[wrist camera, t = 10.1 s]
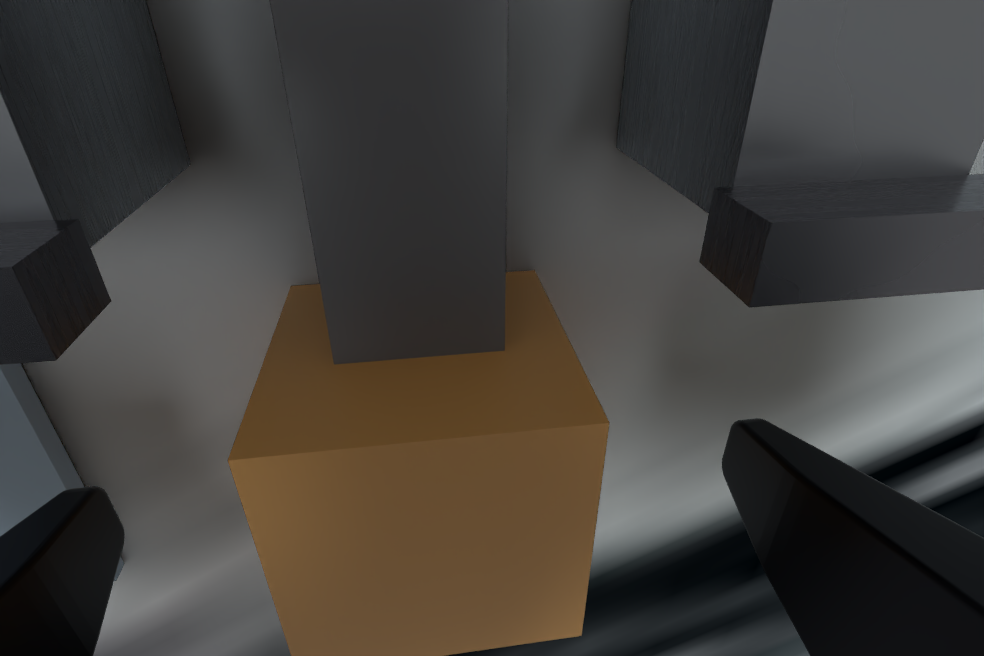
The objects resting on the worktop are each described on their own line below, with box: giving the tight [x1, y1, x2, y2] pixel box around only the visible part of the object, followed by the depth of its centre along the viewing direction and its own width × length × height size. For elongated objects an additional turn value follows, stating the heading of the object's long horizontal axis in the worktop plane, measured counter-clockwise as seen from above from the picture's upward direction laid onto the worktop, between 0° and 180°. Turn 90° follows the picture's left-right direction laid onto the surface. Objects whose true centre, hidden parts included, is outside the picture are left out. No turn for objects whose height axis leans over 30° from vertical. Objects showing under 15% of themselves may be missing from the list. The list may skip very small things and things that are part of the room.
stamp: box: [228, 0, 609, 656], centre depth 7 cm, size 13×4×4 cm, turn 0°
